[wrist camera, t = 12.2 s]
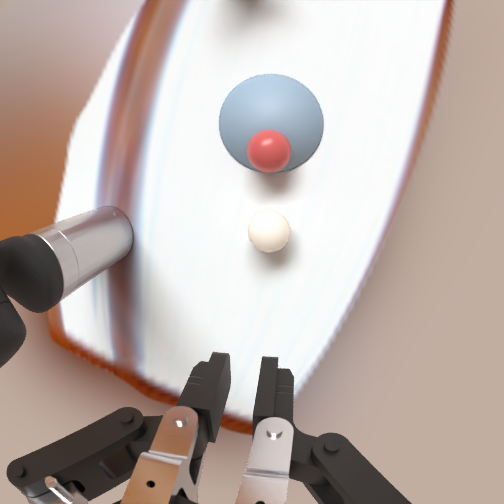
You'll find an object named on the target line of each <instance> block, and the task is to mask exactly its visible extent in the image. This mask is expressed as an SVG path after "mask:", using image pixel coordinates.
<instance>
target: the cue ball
mask: <svg viewBox="0 0 504 504" xmlns="http://www.w3.org/2000/svg"><path fill="white" fill-rule="evenodd" d="M248 236H249V239H250V242H251V243H252V245H253V246H254V247H255V248H257V249H258V250H260V251H262V252H267V253H271V252H276V251H278V250H280V249H282V248H283V247H284V246H285V245H286V244H287V242H288V240H289V238H290V225H289V223H288V221H287V219H286V218H285V217H284V216H283V215H282V214H281V213H279V212H277V211H273V210H265V211H261V212H259V213H258V214H256V215H255V216H254V217H253V218H252V219H251V221H250V223H249V226H248Z"/></svg>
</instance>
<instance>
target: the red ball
mask: <svg viewBox="0 0 504 504" xmlns="http://www.w3.org/2000/svg"><path fill="white" fill-rule="evenodd" d="M247 156H248V159H249V161H250V163H251V164H252V165H253V166H254V167H255V168H256V169H258V170H260V171H262V172H267V173H272V172H276V171H279V170H281V169H282V168H284V167H285V166H286V165H287V163H288V162H289V160H290V157H291V145H290V143H289V141H288V139H287V138H286V137H285V136H284V135H283V134H282V133H280V132H278V131H276V130H270V129H268V130H262V131H259V132H258V133H256V134H255V135H254V136H253V137H252V138H251V139H250V141H249V143H248V146H247Z"/></svg>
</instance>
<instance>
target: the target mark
mask: <svg viewBox="0 0 504 504" xmlns="http://www.w3.org/2000/svg"><path fill="white" fill-rule="evenodd" d="M268 129H270V130H276V131H278V132H280V133H282V134H283V135H284V136H285V137H286V138H287V139H288V141H289V143H290V145H291V157H290V160H289V162H288V163H287V165H286V166H285V167H284V168H282V169H281V170H279V171H276V172H282V171H286V170H290V169H292V168H294V167H297V166H298V165H300V164H302V163H303V162H304V161H306V160H307V159H308V158H309V157H310V156H311V155H312V154H313V152H314V151H315V150H316V148H317V146H318V144H319V142H320V140H321V137H322V132H323V115H322V110H321V108H320V105H319V103H318V101H317V99H316V98H315V96H314V95H313V93H312V92H311V91H310V90H309V89H308V88H307V87H306V86H304V85H303V84H302V83H300V82H299V81H297V80H295V79H293V78H290V77H287V76H284V75H279V74H263V75H258V76H254V77H251V78H249V79H247V80H245V81H243V82H242V83H240V84H239V85H237V86H236V87H235V88H234V89H233V90H232V91H231V92H230V93H229V95H228V96H227V97H226V99H225V101H224V103H223V105H222V108H221V111H220V116H219V130H220V135H221V138H222V141H223V143H224V145H225V147H226V148H227V150H228V151H229V153H230V154H231V155H232V156H233V157H234V158H235V159H236V160H237V161H238V162H240V163H241V164H243V165H244V166H247V167H249V168H251V169H254V170H257V171H260V170H258V169H256V168H255V167H254V166H253V165H252V164H251V163H250V161H249V159H248V156H247V146H248V143H249V141H250V139H251V138H252V137H253V136H254V135H255V134H256V133H258V132H259V131H262V130H268ZM261 172H262V171H261Z"/></svg>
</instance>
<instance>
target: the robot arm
mask: <svg viewBox="0 0 504 504" xmlns="http://www.w3.org/2000/svg"><path fill="white" fill-rule="evenodd" d="M132 243H133V232H132V228H131V225H130V222H129V220H128V219H127V217H126V216H125V215H124V214H123V213H122V212H121V211H120V210H119V209H117V208H115V207H112V206H105V207H101V208H98V209H95V210H92V211H89V212H86V213H83V214H80V215H77V216H74V217H71V218H69V219H66V220H63V221H60V222H58V223H55V224H52V225H50V226H47V227H44V228H42V229H40V230H37V231H35V232H32V233H29V234H27V235H24V236H14V237H10V238H7V239H4V240H2V241H0V368H1V367H2V366H3V365H4V364H5V363H6V362H8V361H9V359H11V358H12V357H13V355H14V354H15V353H16V352H17V351H18V350H19V348H20V347H21V346H22V344H23V342H24V340H25V337H26V327H25V325H24V323H23V321H22V319H21V317H20V316H19V314H18V313H17V311H16V309H15V308H14V306H13V304H12V303H11V301H10V300H9V298H8V297H7V295H8V296H10V297H11V298H13V299H14V300H16V301H17V302H18V303H19V304H21V305H22V306H23V307H25V308H26V309H28V310H30V311H32V312H36V313H42V312H45V311H47V310H49V309H51V308H52V307H53V306H55V305H56V304H57V303H59V302H60V301H61V300H63V299H64V298H66V297H67V296H68V295H70V294H71V293H72V292H74V291H75V290H77V289H78V288H79V287H81V286H82V285H84V284H85V283H86V282H88V281H89V280H91V279H92V278H94V277H95V276H97V275H98V274H100V273H101V272H102V271H104V270H105V269H107V268H108V267H110V266H112V265H113V264H114V263H116V262H117V261H119V260H120V259H122V258H123V257H125V256H126V255H127V254H128V253H129V251H130V249H131V247H132ZM6 294H7V295H6ZM230 384H231V371H230V355H229V354H228V353H218V352H213V353H212V355H211V357H210V360H209V362H203V361H201V362H199V363H198V364H197V365H196V366H195V367H194V368H193V370H192V372H191V374H190V377H189V378H188V381H187V383H186V385H185V387H184V390H183V392H182V394H181V396H180V398H179V401H178V403H177V405H176V407H173V408H170V409H169V410H167V411H166V412H165V414H164V415H162V416H143V415H142V413H141V412H140V411H139V410H137V409H135V408H132V407H124V408H121V409H118V410H116V411H115V412H113V413H111V414H109V415H107V416H105V417H104V418H102V419H100V420H98V421H96V422H94V423H92V424H90V425H88V426H87V427H84V428H82V429H80V430H78V431H76V432H74V433H72V434H70V435H68V436H66V437H64V438H62V439H60V440H58V441H56V442H54V443H52V444H49V445H47V446H45V447H43V448H41V449H39V450H36V451H34V452H32V453H30V454H27V455H25V456H23V457H20V458H18V459H16V460H13V461H12V462H11V463H10V464H9V465H8V468H7V477H8V479H9V481H10V482H11V483H12V484H13V485H14V486H15V487H17V489H19V490H20V491H21V493H22V494H24V495H25V496H26V498H27V499H28V501H29V503H30V504H88V501H90V500H92V499H94V498H96V497H98V496H100V495H102V494H103V493H105V492H107V491H109V490H111V489H112V488H114V487H116V486H118V485H119V484H121V483H123V482H124V481H126V480H128V479H129V478H130V481H129V483H128V486H127V488H126V491H125V493H124V496H123V498H122V500H120V501H118V502H115V503H113V504H198V486H199V482H200V477H201V473H202V469H203V464H204V460H205V455H206V452H205V450H206V447H207V443H208V442H213V443H215V441H216V437H217V434H218V430H219V426H220V423H221V419H222V416H223V412H224V408H225V405H226V401H227V398H228V394H229V390H230ZM293 393H294V376H293V375H292V373H291V371H290V369H281V368H278V357H264V356H263V357H262V362H261V368H260V375H259V381H258V387H257V393H256V399H255V405H254V411H253V443H252V448H251V452H250V456H249V460H248V464H247V468H246V470H245V471H244V473H243V476H242V480H241V484H240V487H239V491H238V495H237V499H236V503H235V504H286V497H287V489H288V481H289V478H291V479H294V480H297V481H301V482H303V484H304V485H305V487H306V488H307V489H308V491H309V492H310V493H311V495H312V496H313V497H314V498H315V500H316V501H317V502H318V504H411V502H409V501H408V500H407V499H406V498H405V497H404V496H403V495H402V494H401V493H400V492H399V491H398V490H397V489H396V488H395V487H394V486H393V485H392V484H390V483H389V481H388V480H386V478H384V477H383V475H381V473H379V472H378V470H377V469H376V468H375V467H373V465H371V464H370V462H369V461H368V460H367V459H366V458H365V457H364V456H363V455H361V453H360V452H359V451H358V450H357V449H356V448H355V447H354V446H353V445H352V444H351V443H350V442H349V441H348V439H346V438H345V437H344V436H342V435H340V434H337V433H326V434H322V435H320V436H319V437H314V436H310V435H307V434H304V433H302V432H301V431H299V430H298V429H297V428H296V427H295V425H294V423H293Z"/></svg>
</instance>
